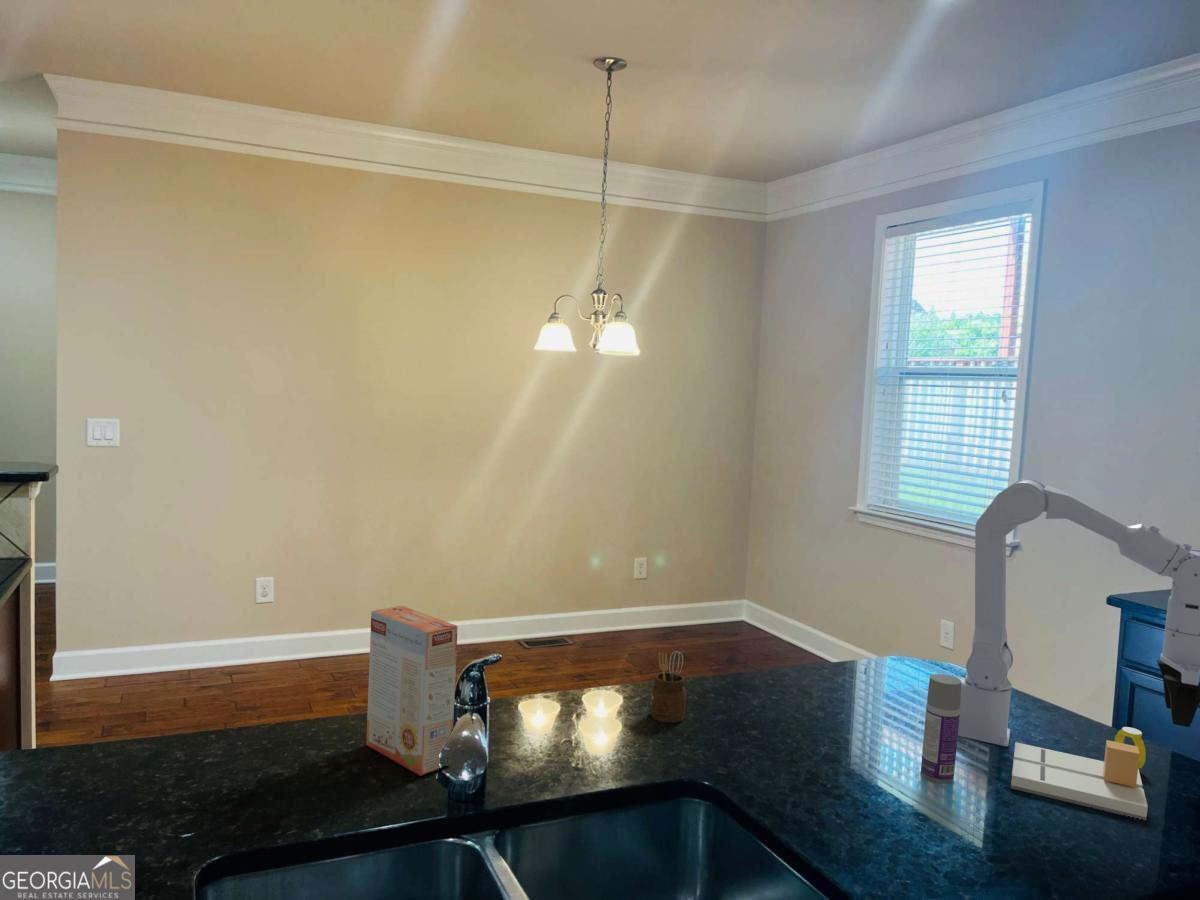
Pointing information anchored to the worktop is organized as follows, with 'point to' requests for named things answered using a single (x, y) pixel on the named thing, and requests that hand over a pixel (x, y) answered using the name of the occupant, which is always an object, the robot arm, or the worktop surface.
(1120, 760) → the fader tab
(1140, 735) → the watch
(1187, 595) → the robot arm
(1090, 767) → the fader console
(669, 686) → the utensil holder
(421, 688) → the cracker box
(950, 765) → the container
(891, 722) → the worktop surface
